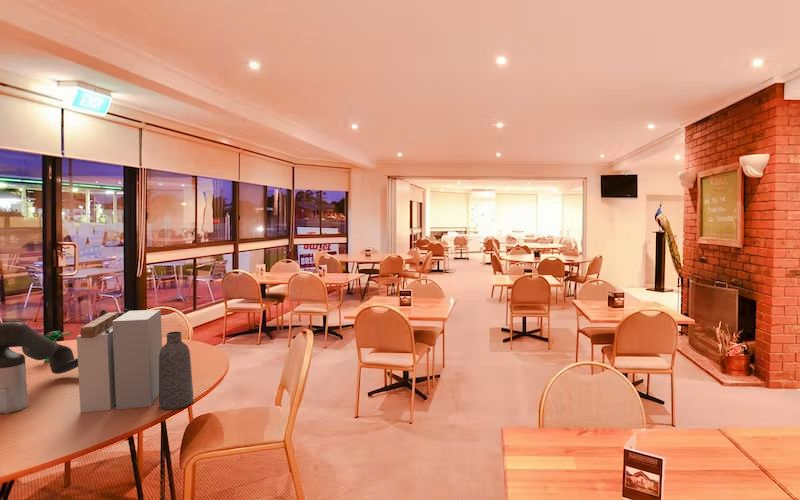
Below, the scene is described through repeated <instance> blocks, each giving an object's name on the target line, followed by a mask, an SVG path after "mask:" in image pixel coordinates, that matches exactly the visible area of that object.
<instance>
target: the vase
mask: <svg viewBox="0 0 800 500" xmlns="http://www.w3.org/2000/svg"><path fill="white" fill-rule="evenodd" d="M182 340H183V339H182V332H181V331H169V332H167V333H166V343H165V344H164V345H162V349H161V350H160V354H159V396H158V406H159V407H160V409H161V410H162V409H163V410H168V411H169V410H170V411H171V410H172V411H173V410H178V409H182V408H186V407H188V406H190V405H192V404H193V402H194V389H193V386H194V385H193V375H192V374H193V373H192V361H191V353H190V351H191V350H190V348H189V346H188V345H187V344H186V343H185V342H184V341H182Z"/></svg>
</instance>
